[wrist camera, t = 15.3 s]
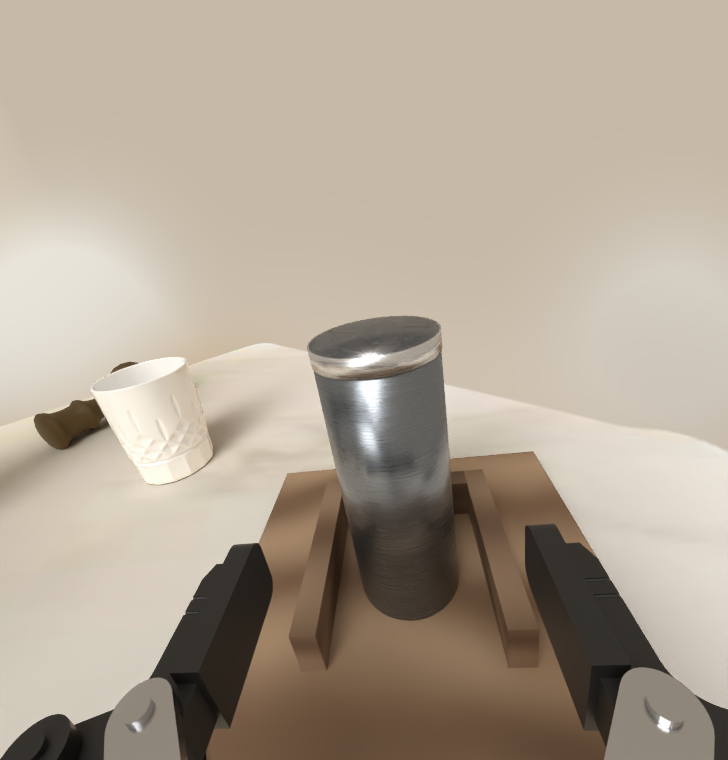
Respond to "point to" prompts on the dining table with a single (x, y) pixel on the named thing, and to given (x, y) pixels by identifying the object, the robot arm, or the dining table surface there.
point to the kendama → (71, 420)
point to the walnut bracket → (409, 638)
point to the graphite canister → (392, 457)
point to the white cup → (156, 418)
